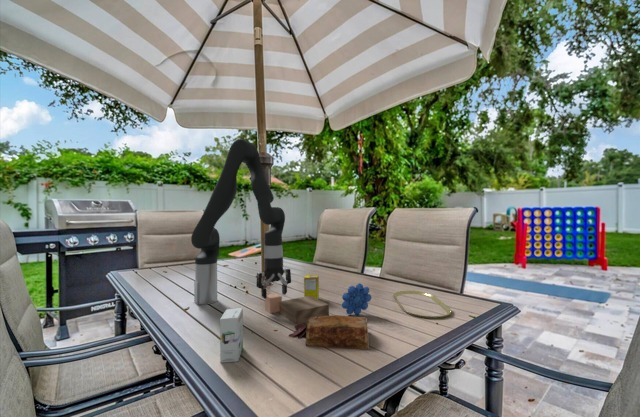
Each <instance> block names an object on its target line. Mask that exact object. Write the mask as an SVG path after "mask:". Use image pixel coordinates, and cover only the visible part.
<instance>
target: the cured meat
mask: <svg viewBox="0 0 640 417" xmlns="http://www.w3.org/2000/svg"><path fill="white" fill-rule="evenodd" d="M294 328H295V331H294V332H292V333H289V334H287V335H288V337H289V338H291V337H292V338H295V337H297V339H300V338H302V337H303V336H304V335H305V346H306V347H318V348H319V347H320V348H331V349H333V348H335V349H357V350H359V349H360V350H370V342H369V329H368V320H367V317H365V316H364V317H363V316H362V317H361V316H351V315H350V316H349V315H341V314H335V315H329V316H315V317H309V318H308V322H305V323H300V324H295V326H294Z"/></svg>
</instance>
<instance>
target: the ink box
mask: <svg viewBox="0 0 640 417" xmlns="http://www.w3.org/2000/svg"><path fill="white" fill-rule="evenodd" d="M243 309H244V308H243V307H242V308H241V307H239V308H227V309H225V311H224V313H223V314H222V316H221V317H220V319H219V331H220V332H219V334H220V335H219V338H220V339H219V348H220V349H219V350H220V351H219V352H220V354H219V357H220V358H219V361H220V363H223V364H224V363H237V362H239V360H240V358H241V354H242V351H243V349H244V310H243Z"/></svg>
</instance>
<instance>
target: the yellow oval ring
mask: <svg viewBox="0 0 640 417" xmlns="http://www.w3.org/2000/svg"><path fill="white" fill-rule="evenodd" d="M402 295H419V296H424V297H427V298H430V299H431V300H432V301H434V303H436V304H437V305H438V306H439V307H441V309H442V310H444V311H445V312H446V314H444V315H423V314H417V313H413V312H410V311H407V310H406V308H404V306H403V305H402V303H401V302H400V301H399V300H398V298H397V297H398V296H402ZM392 297H393V298H394V300H395V301H396V302H397V304H398V306H400V308H401V310H403V311H404V312H405V313H406V314H407V315H410V316H413V317H417V318H423V319H435V320H436V319H443V318H446V317H448V316H450V315H451V313H452V309H451V307H449V306H447V305H446V304H445V303H444V302H443V301H441V300H440V299H439V298H438V297H436V296H435V295H434V294H431V293H429V292H424V291H419V290H400V291H396V292H394V293H393V294H392Z"/></svg>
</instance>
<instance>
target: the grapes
mask: <svg viewBox="0 0 640 417" xmlns="http://www.w3.org/2000/svg"><path fill="white" fill-rule="evenodd" d="M341 298H342V300H343V301H342V304H341V307H342V308H341V309H343V310H344V309H345V313H346V314H347V315H352V314H354V315H360V314H361V313H362V311H366V310H367V309H368V308H369V302H371V300H372V295H371V294H370V288H369V287H368V286H364V285H363V284H362V283H356V285H355V286H354V285H350V286H349V287H348V288H347V292H344V293H343V294H342V296H341Z"/></svg>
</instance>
